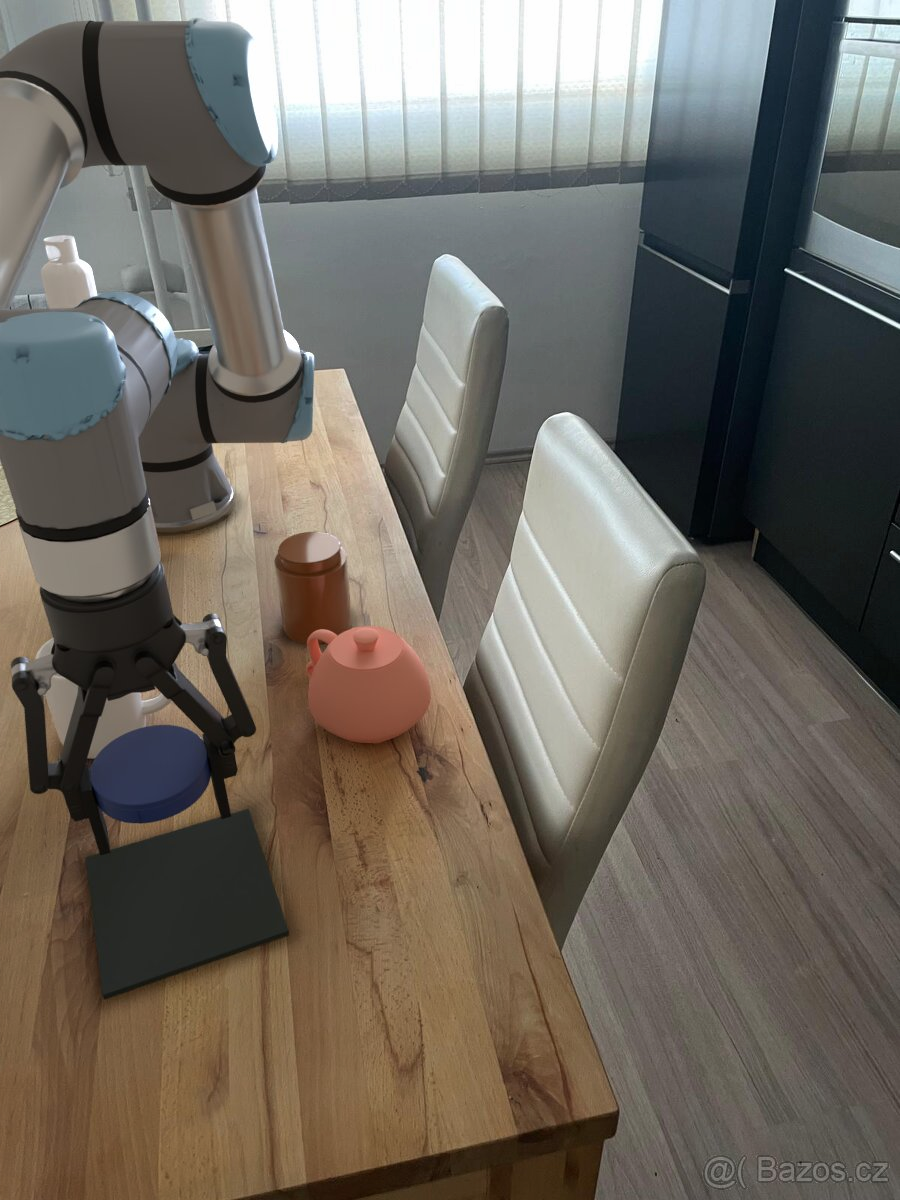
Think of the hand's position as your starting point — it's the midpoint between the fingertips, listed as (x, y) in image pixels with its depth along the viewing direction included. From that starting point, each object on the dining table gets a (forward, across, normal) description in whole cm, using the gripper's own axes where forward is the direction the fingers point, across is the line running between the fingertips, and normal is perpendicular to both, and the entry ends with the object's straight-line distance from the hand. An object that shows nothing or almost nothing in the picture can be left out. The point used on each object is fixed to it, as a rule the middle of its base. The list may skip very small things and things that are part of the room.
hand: (164, 823), depth 70 cm
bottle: (+9, -4, -115) cm, 115 cm away
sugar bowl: (+9, -21, -16) cm, 28 cm away
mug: (+9, +2, -23) cm, 25 cm away
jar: (+9, -21, -33) cm, 40 cm away
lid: (-6, 0, 0) cm, 6 cm away
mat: (+9, 0, 0) cm, 9 cm away
